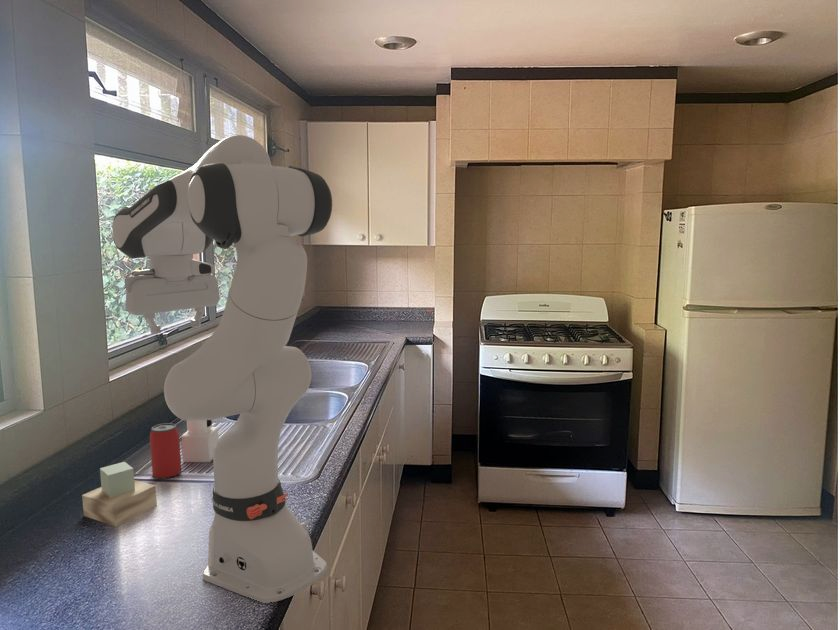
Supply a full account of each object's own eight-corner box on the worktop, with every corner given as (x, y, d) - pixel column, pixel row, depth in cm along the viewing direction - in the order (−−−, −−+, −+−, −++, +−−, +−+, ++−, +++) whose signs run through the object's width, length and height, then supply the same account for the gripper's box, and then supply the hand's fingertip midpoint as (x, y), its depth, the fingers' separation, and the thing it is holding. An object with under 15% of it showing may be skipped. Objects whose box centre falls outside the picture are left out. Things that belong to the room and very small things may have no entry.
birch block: (157, 507, 133) (155, 485, 132) (116, 528, 124) (114, 505, 124) (125, 497, 138) (123, 476, 137) (84, 517, 129) (81, 495, 128)
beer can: (172, 466, 154) (169, 420, 152) (186, 473, 150) (183, 426, 148) (147, 474, 149) (143, 427, 147) (161, 482, 145) (157, 433, 143)
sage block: (135, 490, 130) (133, 468, 129) (110, 498, 126) (108, 475, 126) (126, 483, 133) (124, 461, 133) (101, 490, 130) (99, 468, 129)
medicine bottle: (193, 451, 163) (190, 408, 161) (219, 452, 163) (217, 408, 161) (182, 462, 156) (179, 417, 154) (210, 462, 156) (207, 417, 154)
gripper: (131, 272, 123) (136, 339, 126) (221, 265, 139) (224, 325, 141) (117, 270, 127) (122, 335, 130) (206, 264, 143) (209, 322, 145)
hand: (176, 330), depth 136 cm, fingers open, 8 cm apart
